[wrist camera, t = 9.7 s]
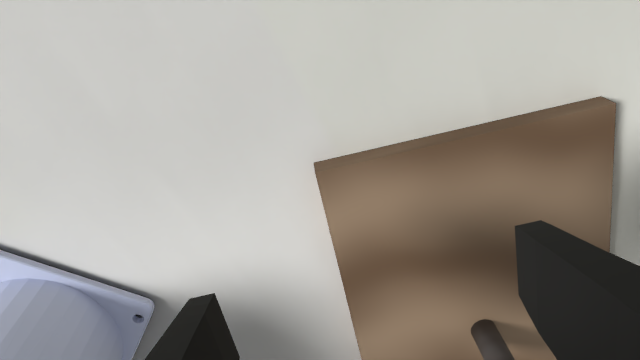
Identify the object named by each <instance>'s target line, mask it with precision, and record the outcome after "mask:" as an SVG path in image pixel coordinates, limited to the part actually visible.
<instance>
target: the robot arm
mask: <svg viewBox="0 0 640 360" xmlns="http://www.w3.org/2000/svg"><path fill="white" fill-rule="evenodd" d="M515 240H516V258H517V276H518V294H519V297H520V299H521V301H522V303H523V305H524V307H525V309H526V311H527V312H528V314H529V316H530V318H531V320H532V322H533V324H534V325H535V327H536V329H537V331H538V333H539V334H540V336H541V337H542V339H543V340H544V341H545V343H546V344H547V346H548V347H549V349H550V350H551V352H552V353H553V354H554V356H555V357H556V359H557V360H640V266H638V265H635V264H633V263H631V262H629V261H626V260H624V259H622V258H620V257H618V256H615V255H613V254H611V253H609V252H607V251H605V250H603V249H601V248H598V247H596V246H594V245H592V244H590V243H588V242H586V241H584V240H582V239H580V238H578V237H576V236H574V235H572V234H570V233H568V232H565V231H563V230H561V229H559V228H557V227H555V226H553V225H551V224H549V223H546V222H544V221H542V220H539V221H535V222H530V223H526V224H521V225H517V226H515ZM154 307H155V306H154V303H153V302H152V301H151V300H150V299H148V298H146V297H143V296H140V295H137V294H134V293H131V292H128V291H125V290H121V289H118V288H115V287H112V286H109V285H106V284H103V283H100V282H97V281H94V280H91V279H88V278H85V277H82V276H79V275H76V274H73V273H69V272H66V271H63V270H60V269H57V268H54V267H51V266H48V265H45V264H42V263H39V262H36V261H33V260H30V259H27V258H24V257H21V256H17V255H14V254H11V253H8V252H5V251H2V250H0V360H132V359H133V356H134V354H135V352H136V350H137V347H138V345H139V343H140V341H141V338H142V336H143V334H144V332H145V329H146V327H147V325H148V323H149V320H150V318H151V316H152V314H153V311H154ZM136 314H139V315H141V316H143V317H142V318H140V317H137V316H136ZM145 360H239V354H238V351H237V349H236V346H235V344H234V341H233V339H232V336H231V334H230V331H229V329H228V326H227V324H226V321H225V319H224V316H223V314H222V311H221V308H220V306H219V303H218V301H217V298H216V296H215V293H214V294H209V295H205V296H200V297H196V298H191V299H189V300H188V302H187V303H186V304H185V306H184V307H183V308H182V310H181V311H180V312H179V314H178V315H177V316H176V318H175V319H174V321H173V322H172V323H171V325H170V326H169V328H168V329H167V330H166V332H165V333H164V334H163V336H162V337H161V338H160V340H159V341H158V342H157V344H156V345H155V346H154V348H153V349H152V351H151V352H150V353H149V355H148V356H147V357H146V359H145Z"/></svg>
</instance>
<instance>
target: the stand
mask: <svg viewBox="0 0 640 360" xmlns="http://www.w3.org/2000/svg"><path fill="white" fill-rule="evenodd" d="M615 113H616V103H614V102H612V101H610V100H608V99H605V98H603V97H601V96H600V97H596V98H592V99H588V100H583V101H579V102H575V103H570V104H566V105H562V106H557V107H553V108H549V109H544V110H540V111H536V112H531V113H527V114H523V115H518V116H514V117H510V118H505V119H501V120H497V121H492V122H488V123H484V124H480V125H475V126H471V127H467V128H462V129H458V130H454V131H449V132H445V133H441V134H436V135H432V136H428V137H423V138H419V139H415V140H410V141H406V142H402V143H397V144H393V145H389V146H384V147H380V148H376V149H371V150H367V151H363V152H359V153H354V154H350V155H346V156H341V157H337V158H333V159H328V160H324V161H320V162H315V163H314V168H315V174H316V178H317V182H318V186H319V190H320V194H321V198H322V202H323V206H324V210H325V214H326V218H327V222H328V226H329V230H330V234H331V238H332V242H333V246H334V250H335V254H336V258H337V262H338V266H339V270H340V274H341V278H342V282H343V286H344V290H345V294H346V298H347V302H348V306H349V310H350V314H351V318H352V322H353V326H354V330H355V334H356V338H357V342H358V346H359V350H360V354H361V358H362V360H557V359H556V357H555V356H554V354H553V353H552V352H551V350H550V349H549V347H548V346H547V344H546V343H545V341H544V340H543V339H542V337H541V336H540V334H539V333H538V331H537V329H536V327H535V325H534V324H533V322H532V320H531V318H530V316H529V314H528V312H527V311H526V309H525V307H524V305H523V303H522V301H521V299H520V297H519V294H518V276H517V258H516V240H515V226H517V225H521V224H526V223H530V222H535V221H539V220H542V221H544V222H546V223H549V224H551V225H553V226H555V227H557V228H559V229H561V230H563V231H565V232H568V233H570V234H572V235H574V236H576V237H578V238H580V239H582V240H584V241H586V242H588V243H590V244H592V245H594V246H596V247H598V248H601V249H603V250H605V251H607V252H609V250H610V227H611V204H612V182H613V159H614V136H615Z"/></svg>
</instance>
